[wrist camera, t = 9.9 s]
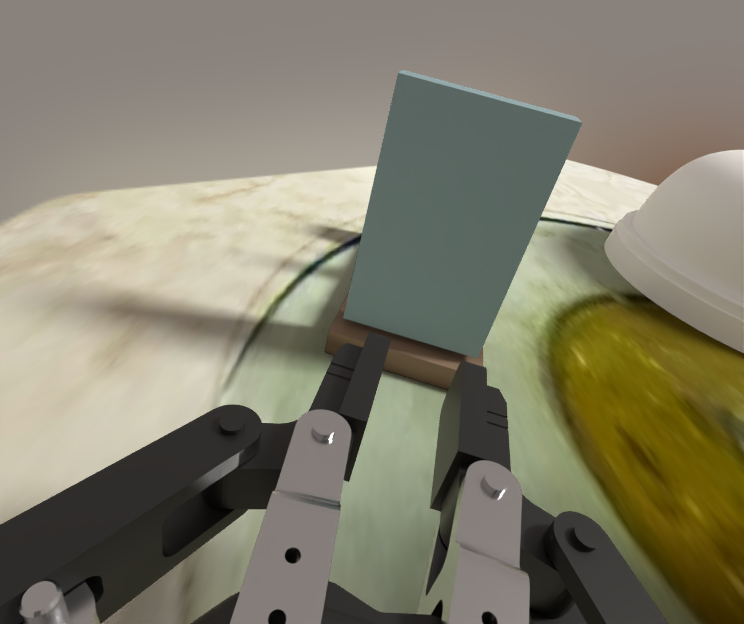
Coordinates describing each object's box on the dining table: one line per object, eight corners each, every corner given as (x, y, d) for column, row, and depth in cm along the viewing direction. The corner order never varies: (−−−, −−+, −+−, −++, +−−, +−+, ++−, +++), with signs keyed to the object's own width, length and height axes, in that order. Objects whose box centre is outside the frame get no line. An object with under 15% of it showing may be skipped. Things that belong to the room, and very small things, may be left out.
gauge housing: (473, 397, 27) (509, 320, 24) (324, 351, 27) (341, 270, 24) (477, 263, 42) (499, 206, 39) (380, 235, 42) (395, 176, 39)
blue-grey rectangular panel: (477, 358, 27) (582, 122, 20) (343, 318, 27) (398, 72, 20) (478, 317, 30) (566, 106, 23) (360, 282, 31) (411, 65, 24)
